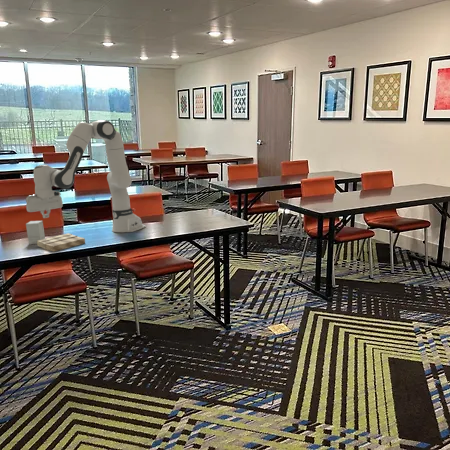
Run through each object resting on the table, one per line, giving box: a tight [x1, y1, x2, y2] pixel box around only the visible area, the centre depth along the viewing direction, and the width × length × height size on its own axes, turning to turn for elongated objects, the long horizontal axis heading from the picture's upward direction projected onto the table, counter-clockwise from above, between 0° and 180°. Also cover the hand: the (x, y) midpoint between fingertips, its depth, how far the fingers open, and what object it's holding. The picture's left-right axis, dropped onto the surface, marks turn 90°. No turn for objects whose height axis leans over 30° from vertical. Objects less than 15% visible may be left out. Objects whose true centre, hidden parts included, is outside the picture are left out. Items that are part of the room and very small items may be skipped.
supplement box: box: [25, 220, 46, 245], centre depth 249 cm, size 7×7×13 cm
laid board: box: [45, 235, 86, 252], centre depth 240 cm, size 20×8×3 cm, turn 142°
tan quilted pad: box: [36, 232, 76, 250], centre depth 246 cm, size 20×9×3 cm, turn 142°
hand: (46, 217), depth 239 cm, fingers closed
